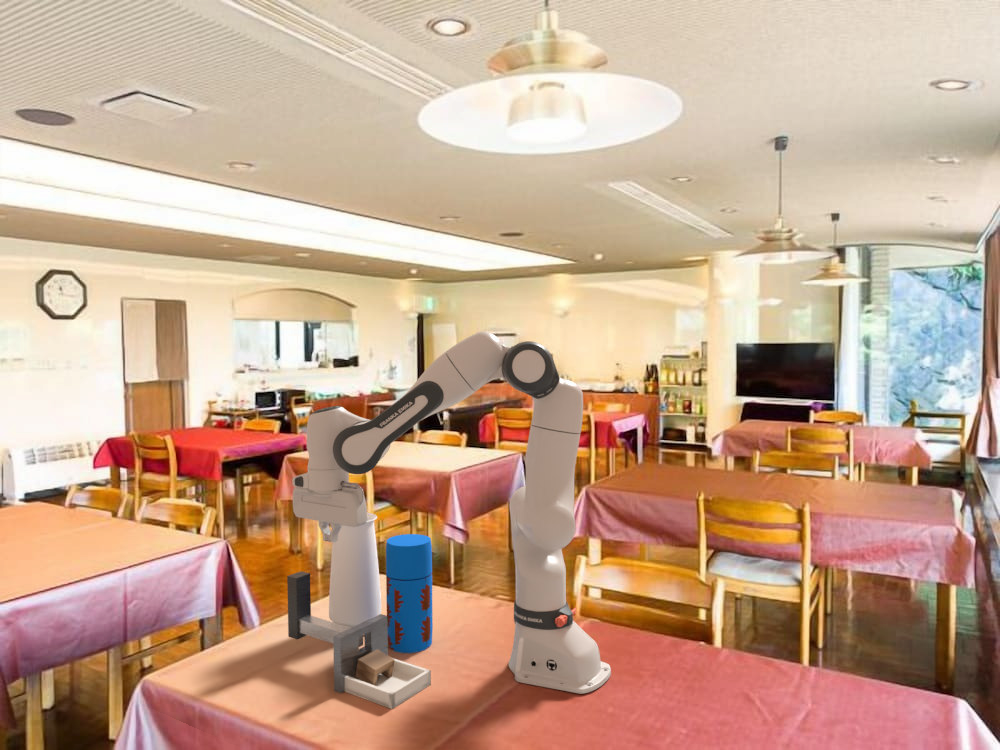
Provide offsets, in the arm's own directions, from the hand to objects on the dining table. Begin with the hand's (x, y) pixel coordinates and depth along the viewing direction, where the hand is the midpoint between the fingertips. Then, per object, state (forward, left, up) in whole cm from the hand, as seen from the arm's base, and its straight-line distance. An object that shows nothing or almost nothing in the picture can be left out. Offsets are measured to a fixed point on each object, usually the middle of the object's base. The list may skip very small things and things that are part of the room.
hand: (330, 541), depth 157 cm
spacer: (-14, +2, -26) cm, 30 cm away
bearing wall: (-11, +2, -28) cm, 30 cm away
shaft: (0, +2, -23) cm, 23 cm away
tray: (-18, +2, -28) cm, 33 cm away
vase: (+10, -17, -28) cm, 34 cm away
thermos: (-8, -17, -28) cm, 34 cm away
